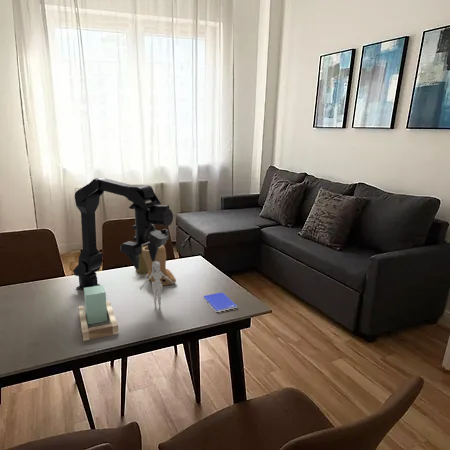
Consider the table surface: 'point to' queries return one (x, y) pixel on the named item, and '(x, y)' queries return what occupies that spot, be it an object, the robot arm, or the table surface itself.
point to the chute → (99, 330)
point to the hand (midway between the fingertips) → (145, 265)
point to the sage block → (95, 304)
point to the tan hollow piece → (162, 259)
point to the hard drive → (220, 302)
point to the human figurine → (156, 283)
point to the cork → (142, 264)
